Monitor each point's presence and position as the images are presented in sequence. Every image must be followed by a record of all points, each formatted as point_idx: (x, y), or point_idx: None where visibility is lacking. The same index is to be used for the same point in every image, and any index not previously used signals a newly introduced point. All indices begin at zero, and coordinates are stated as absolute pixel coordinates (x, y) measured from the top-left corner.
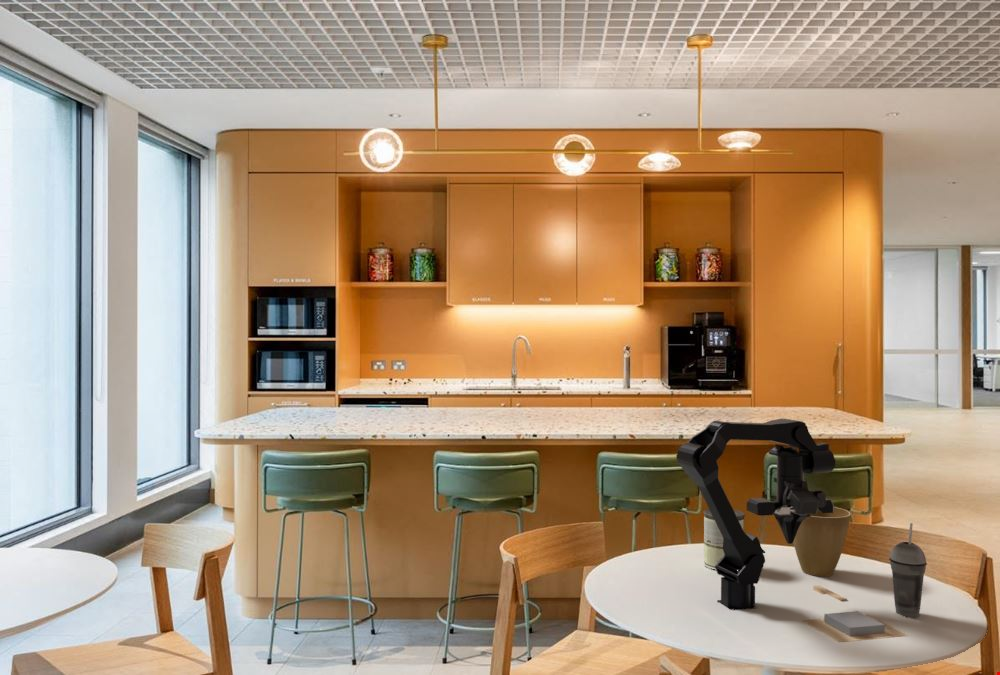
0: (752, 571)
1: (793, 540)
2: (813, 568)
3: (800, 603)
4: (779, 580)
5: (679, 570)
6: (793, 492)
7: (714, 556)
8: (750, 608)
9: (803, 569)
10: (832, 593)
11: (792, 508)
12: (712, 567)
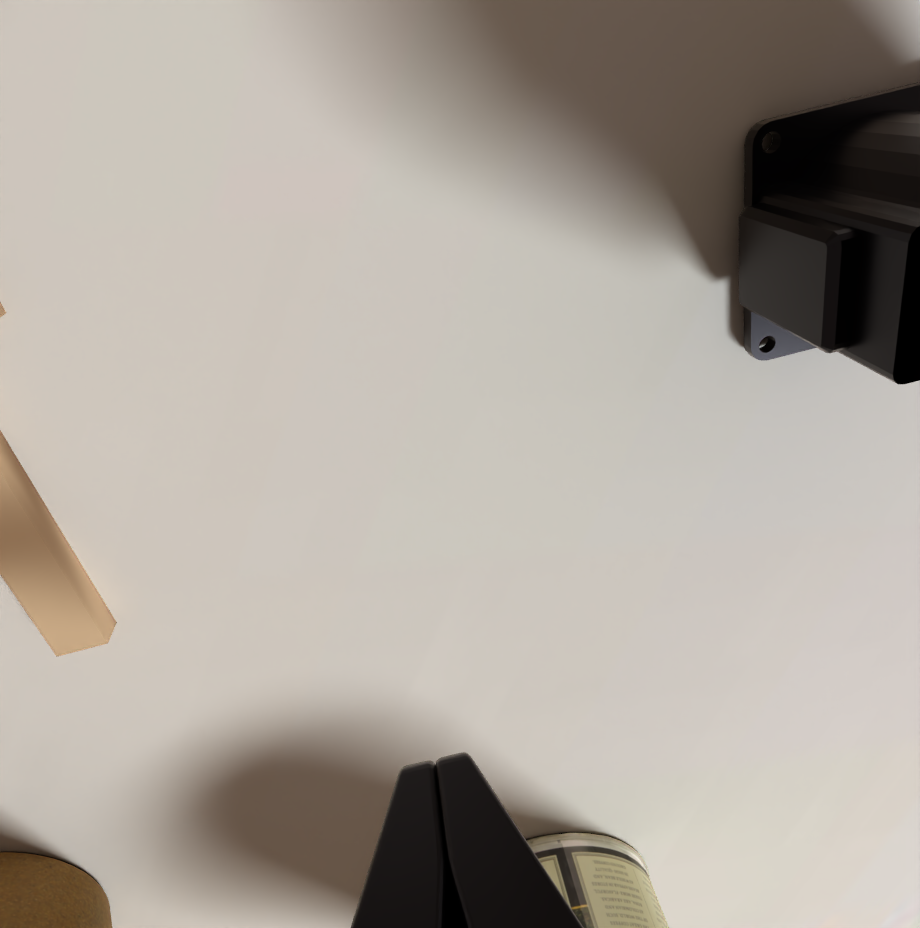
0: None
1: (390, 819)
2: (36, 897)
3: (310, 324)
4: (308, 755)
5: (805, 813)
6: None
7: (654, 922)
8: (823, 111)
9: (103, 905)
10: None
11: None
12: (636, 859)
